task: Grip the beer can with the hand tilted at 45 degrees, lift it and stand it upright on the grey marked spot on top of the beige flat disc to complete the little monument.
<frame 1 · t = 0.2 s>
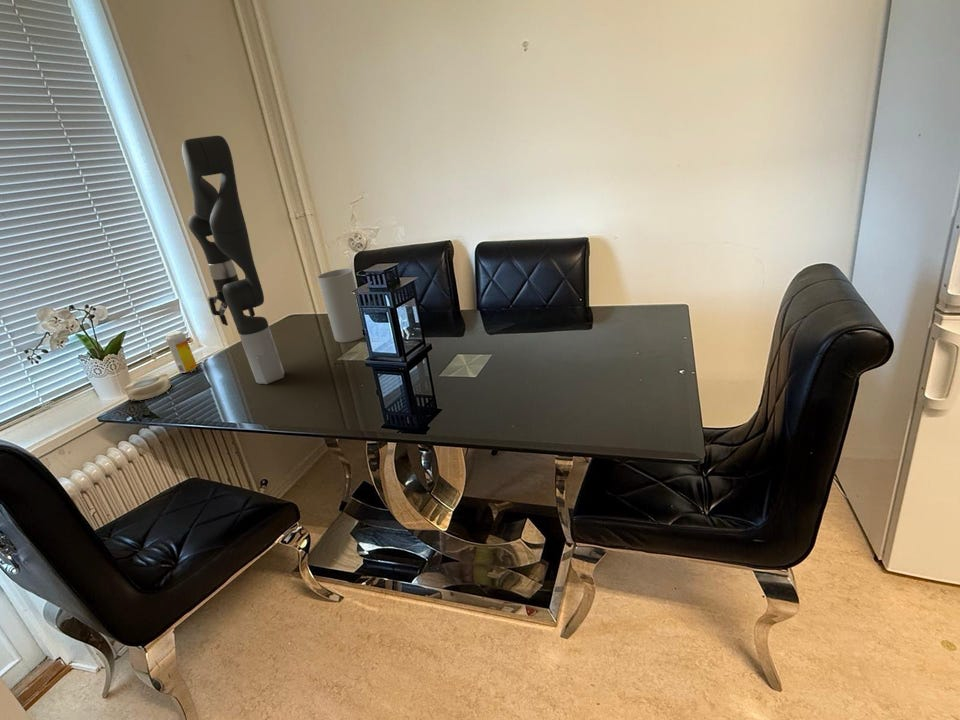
hand: (239, 321, 176), 18 cm above the table, tool pointing down, fingers open, 8 cm apart
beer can: (189, 371, 191), on the table
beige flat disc: (151, 392, 177), on the table
cylinder vase: (351, 337, 199), on the table
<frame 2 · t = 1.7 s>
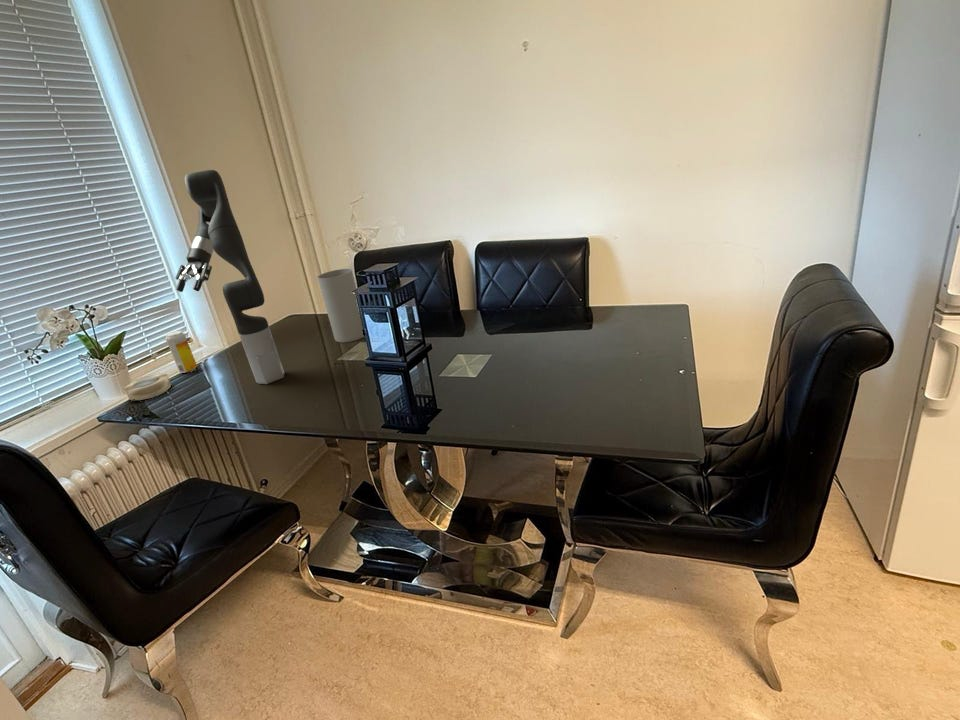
hand: (187, 290, 190), 27 cm above the table, tool tilted 45°, fingers open, 8 cm apart
nothing on the table moved.
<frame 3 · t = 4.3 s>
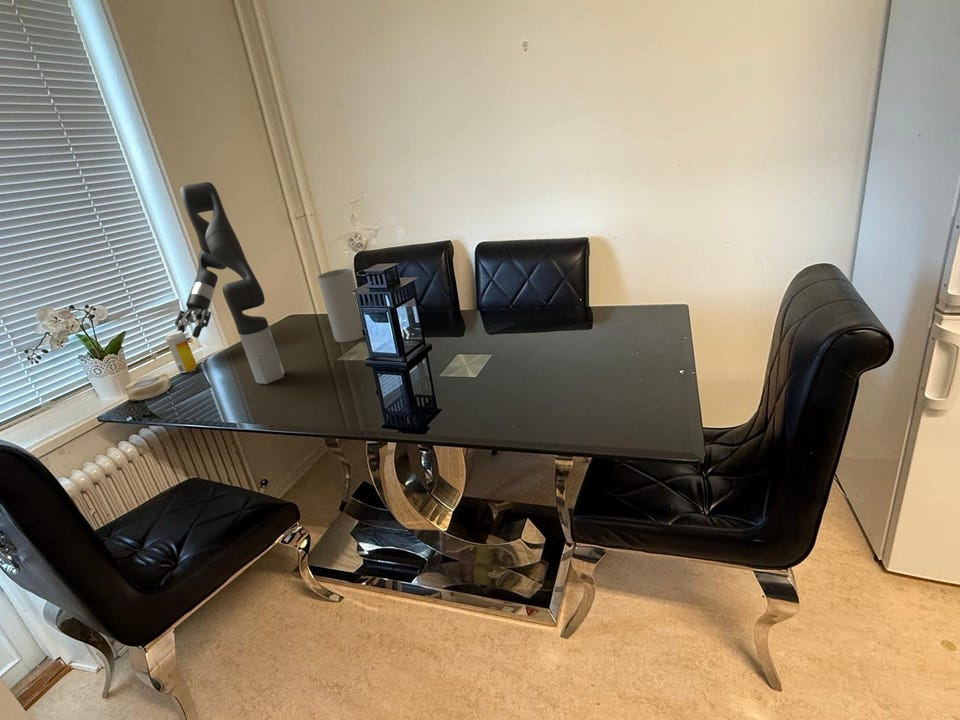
hand: (186, 337, 190), 12 cm above the table, tool tilted 45°, fingers open, 8 cm apart
nothing on the table moved.
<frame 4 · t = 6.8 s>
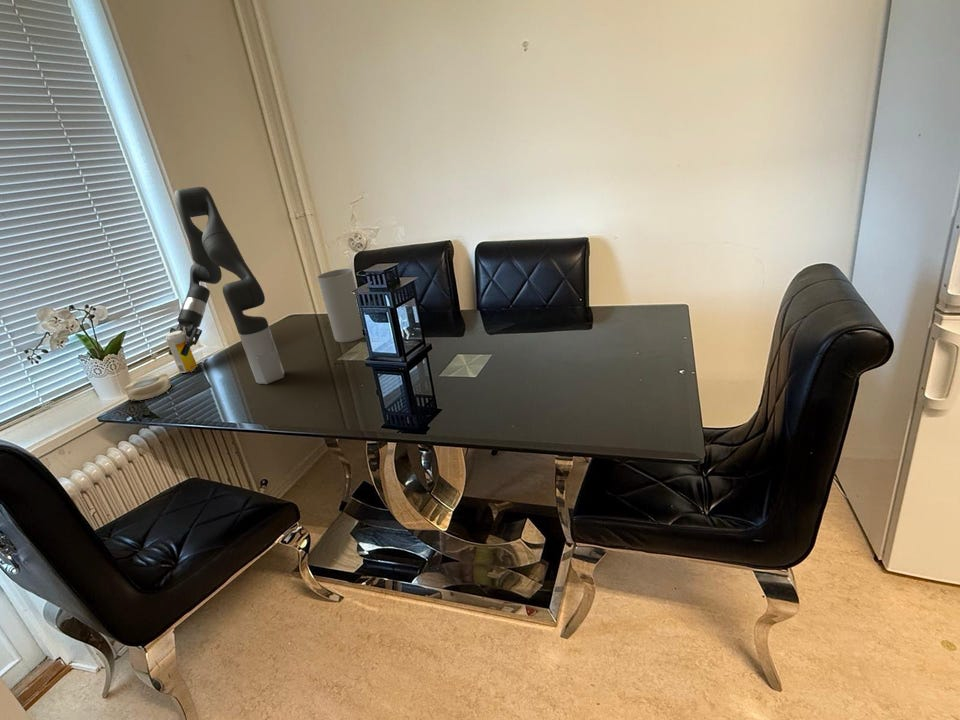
hand: (177, 355, 187), 7 cm above the table, tool tilted 45°, fingers closed on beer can, 5 cm apart
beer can: (189, 371, 191), on the table, touching gripper
everything else where it was.
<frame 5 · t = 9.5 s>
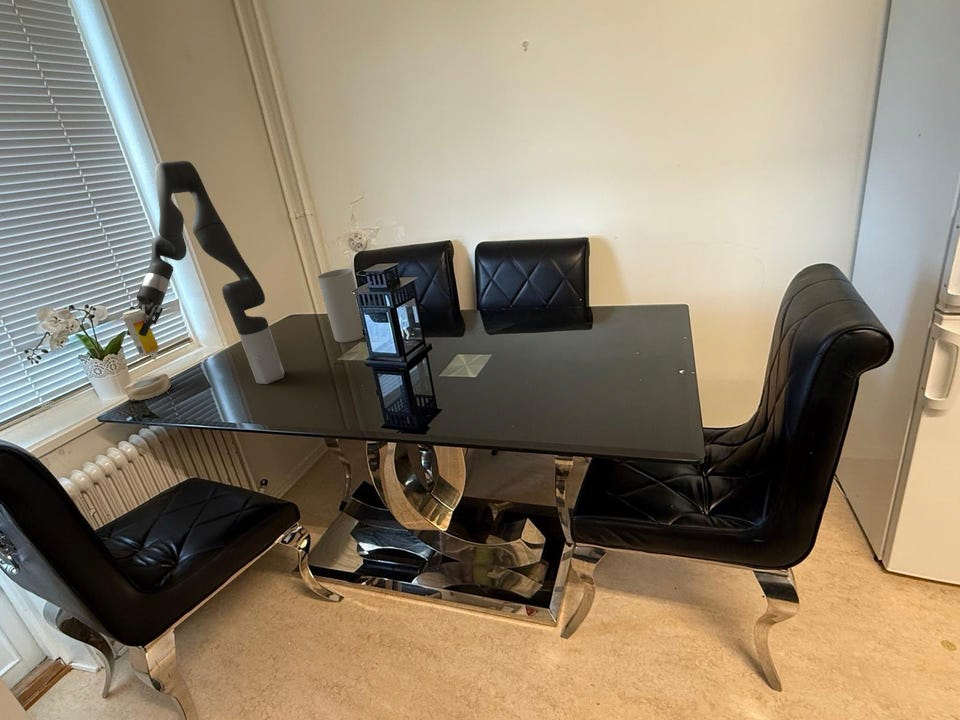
hand: (136, 335, 172), 20 cm above the table, tool tilted 45°, fingers closed on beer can, 5 cm apart
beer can: (150, 353, 177), point 12 cm above the table, touching gripper
everything else where it was.
when the fingers open (13 cm above the table, at t = 12.5 s): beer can drops 1 cm, resting on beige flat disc.
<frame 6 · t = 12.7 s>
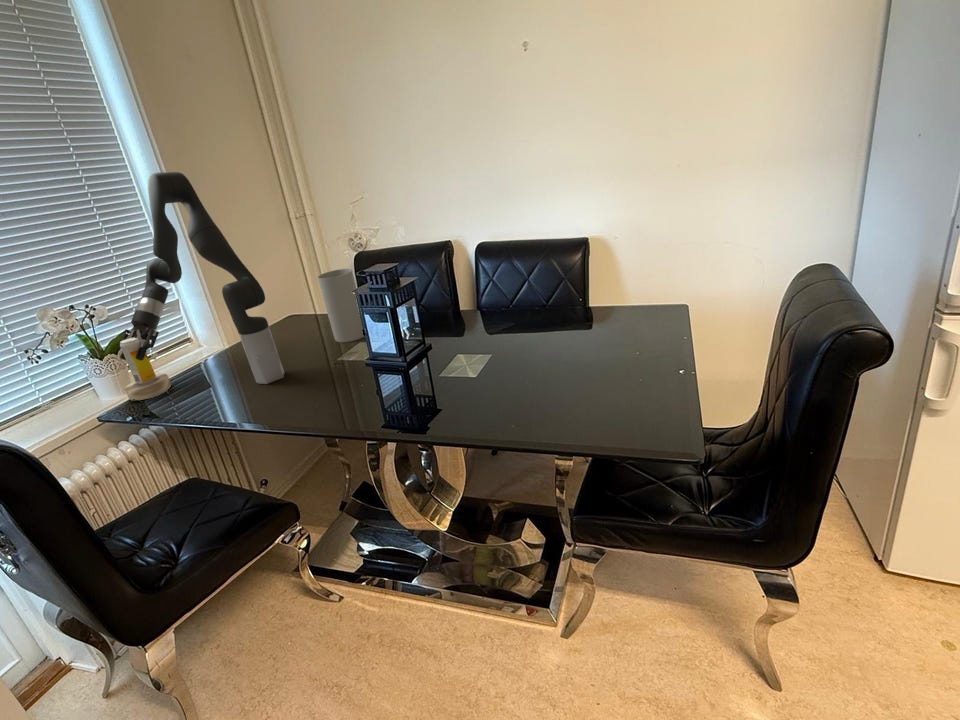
hand: (131, 359, 171), 13 cm above the table, tool tilted 45°, fingers open, 7 cm apart
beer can: (147, 381, 176), point 4 cm above the table, touching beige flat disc
everything else where it was.
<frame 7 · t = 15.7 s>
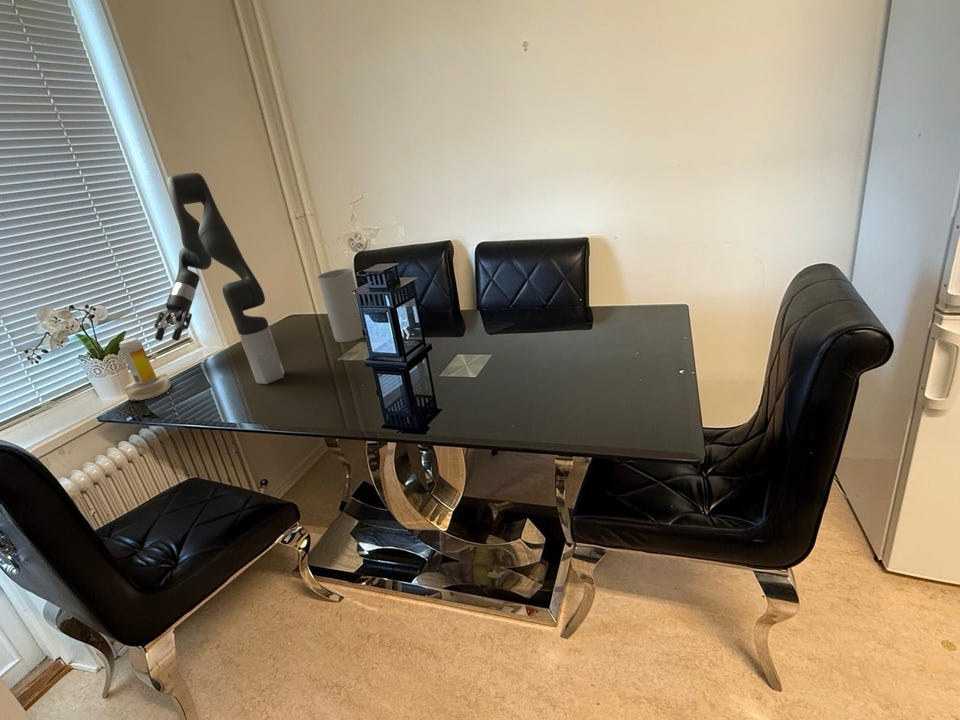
hand: (166, 339, 182), 14 cm above the table, tool tilted 45°, fingers open, 8 cm apart
nothing on the table moved.
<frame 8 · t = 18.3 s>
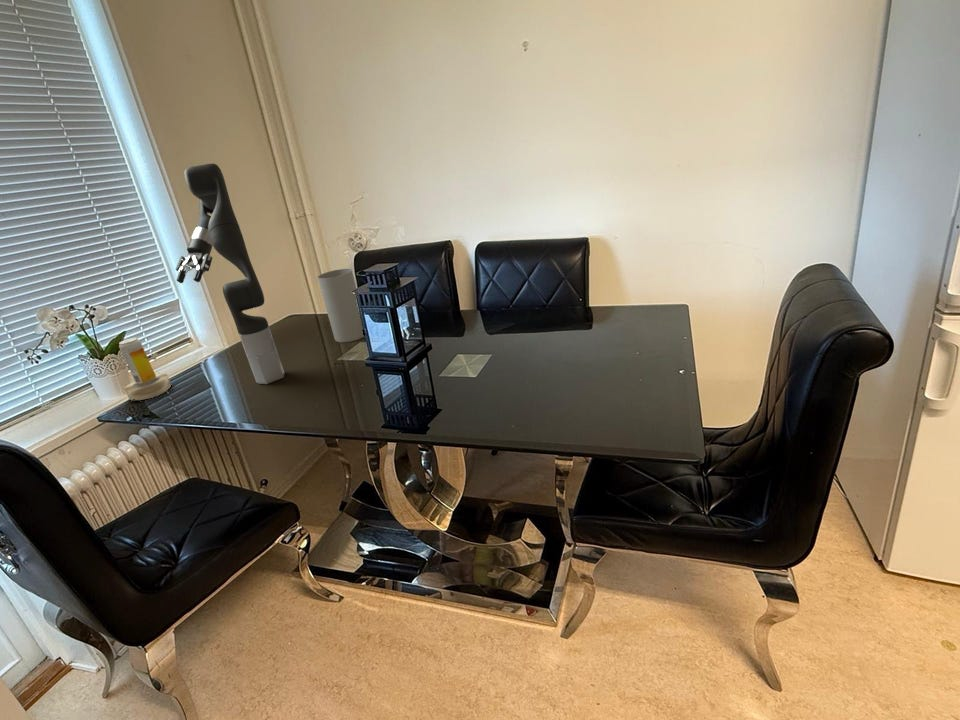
hand: (187, 281, 188), 31 cm above the table, tool tilted 45°, fingers open, 8 cm apart
nothing on the table moved.
at the end: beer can 0.3 cm off-centre on the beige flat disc, point 4.0 cm above the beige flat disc's base; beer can tilted 0°; the gripper is holding nothing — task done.
